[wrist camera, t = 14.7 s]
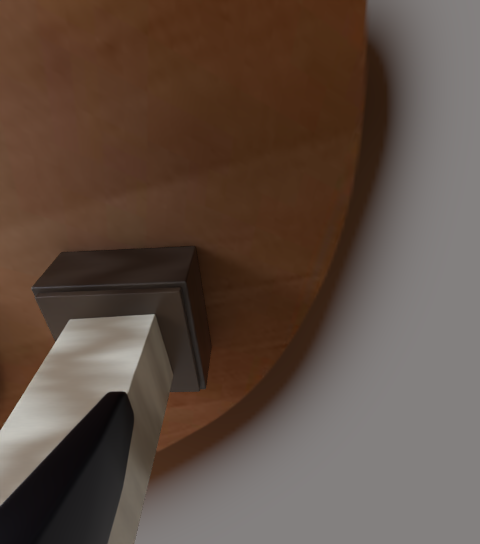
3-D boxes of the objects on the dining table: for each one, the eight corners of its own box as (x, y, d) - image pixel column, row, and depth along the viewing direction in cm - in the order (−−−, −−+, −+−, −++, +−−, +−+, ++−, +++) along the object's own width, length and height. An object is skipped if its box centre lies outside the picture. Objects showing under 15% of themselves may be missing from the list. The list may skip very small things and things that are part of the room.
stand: (195, 245, 22) (184, 286, 18) (211, 347, 26) (205, 395, 23) (60, 251, 22) (26, 292, 19) (98, 350, 27) (76, 397, 23)
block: (155, 313, 19) (27, 687, 8) (173, 375, 22) (93, 724, 11) (69, 318, 20) (-158, 682, 9) (97, 378, 22) (-54, 718, 11)
